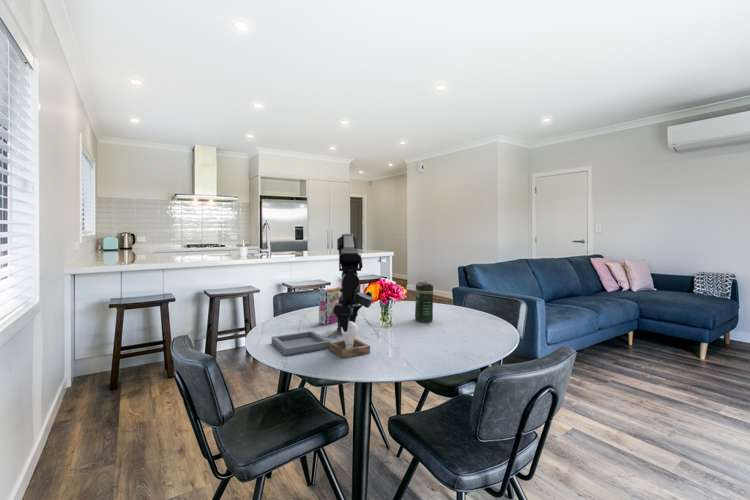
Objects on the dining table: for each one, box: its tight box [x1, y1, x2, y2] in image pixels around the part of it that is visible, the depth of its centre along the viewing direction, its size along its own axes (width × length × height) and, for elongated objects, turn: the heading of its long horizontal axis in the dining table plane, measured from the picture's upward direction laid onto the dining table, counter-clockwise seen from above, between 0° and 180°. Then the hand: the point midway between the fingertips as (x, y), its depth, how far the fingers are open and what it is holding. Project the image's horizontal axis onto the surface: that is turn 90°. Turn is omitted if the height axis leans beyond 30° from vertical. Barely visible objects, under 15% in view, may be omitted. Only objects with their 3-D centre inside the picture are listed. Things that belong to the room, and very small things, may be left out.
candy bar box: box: [318, 286, 342, 326], centre depth 179 cm, size 11×5×16 cm, turn 144°
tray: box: [271, 330, 331, 357], centre depth 144 cm, size 17×17×2 cm
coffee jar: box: [414, 281, 434, 323], centre depth 184 cm, size 10×8×19 cm
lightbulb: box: [340, 321, 359, 349], centre depth 138 cm, size 6×6×11 cm
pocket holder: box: [328, 337, 371, 359], centre depth 138 cm, size 11×11×2 cm
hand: (349, 328), depth 138 cm, fingers open, 9 cm apart
